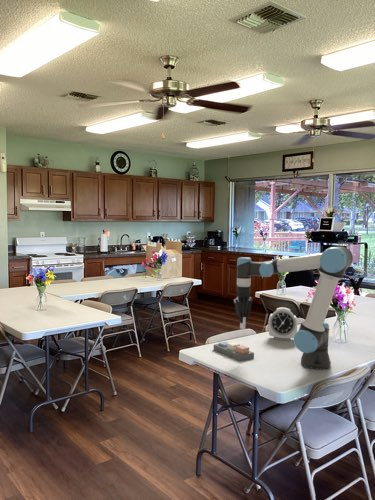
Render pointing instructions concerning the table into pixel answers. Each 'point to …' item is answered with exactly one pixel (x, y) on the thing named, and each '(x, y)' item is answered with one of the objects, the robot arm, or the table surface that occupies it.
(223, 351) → the key board
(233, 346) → the cream key
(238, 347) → the terracotta key
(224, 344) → the blue key
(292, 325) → the alarm clock
